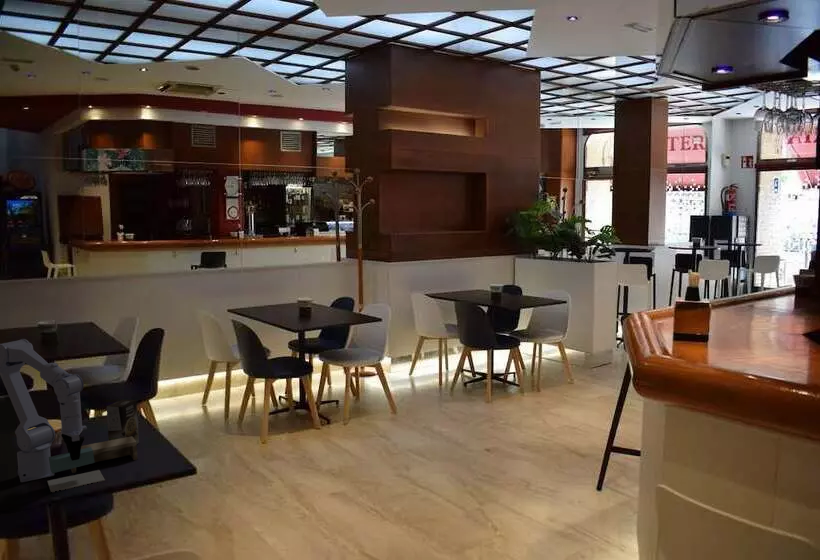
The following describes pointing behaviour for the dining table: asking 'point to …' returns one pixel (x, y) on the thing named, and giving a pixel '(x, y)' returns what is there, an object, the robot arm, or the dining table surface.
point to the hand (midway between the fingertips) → (74, 457)
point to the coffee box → (122, 420)
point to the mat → (75, 481)
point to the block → (66, 463)
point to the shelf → (113, 449)
